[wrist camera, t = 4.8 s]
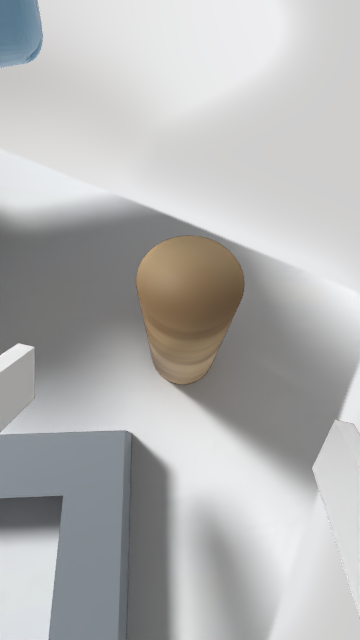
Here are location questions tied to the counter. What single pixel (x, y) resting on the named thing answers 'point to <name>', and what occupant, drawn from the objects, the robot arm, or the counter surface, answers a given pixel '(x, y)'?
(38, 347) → the counter surface
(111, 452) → the slate socket block
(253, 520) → the counter surface
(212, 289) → the oak peg
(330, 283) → the counter surface
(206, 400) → the counter surface
